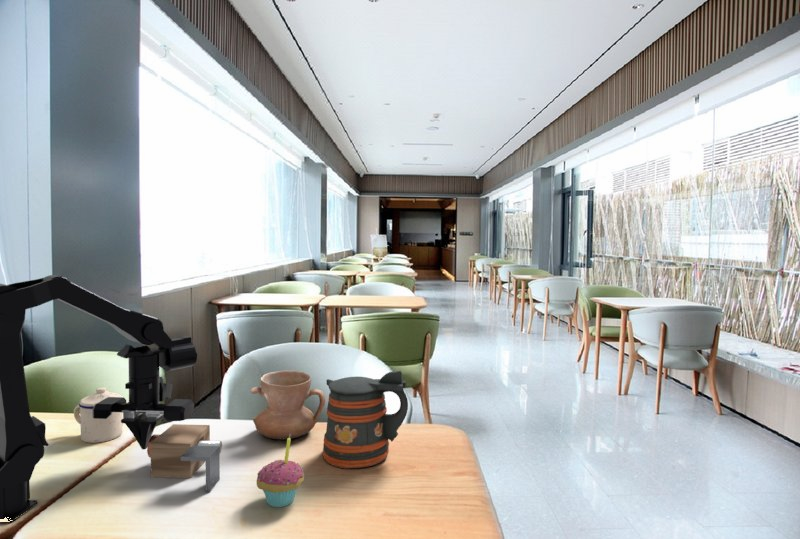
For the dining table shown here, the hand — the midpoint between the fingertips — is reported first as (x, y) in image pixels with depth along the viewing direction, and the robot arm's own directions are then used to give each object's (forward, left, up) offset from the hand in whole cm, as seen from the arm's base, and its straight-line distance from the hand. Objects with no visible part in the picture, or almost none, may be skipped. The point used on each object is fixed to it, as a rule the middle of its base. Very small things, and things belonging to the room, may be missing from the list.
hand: (144, 448), depth 107 cm
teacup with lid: (+15, +19, -4) cm, 25 cm away
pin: (0, -9, -2) cm, 9 cm away
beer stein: (+7, -46, -4) cm, 46 cm away
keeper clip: (-8, -15, -4) cm, 17 cm away
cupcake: (-13, -32, -4) cm, 35 cm away
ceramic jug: (+19, -26, -4) cm, 32 cm away
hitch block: (0, -8, -4) cm, 9 cm away
